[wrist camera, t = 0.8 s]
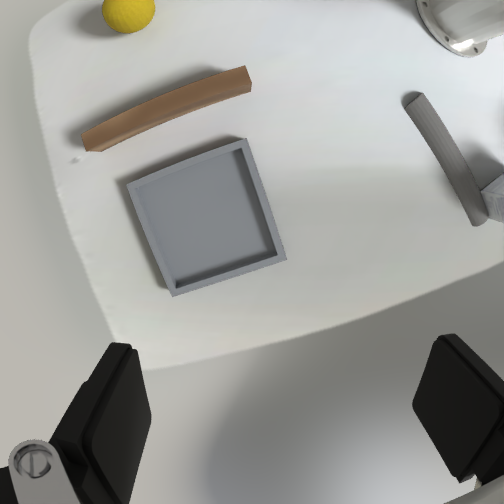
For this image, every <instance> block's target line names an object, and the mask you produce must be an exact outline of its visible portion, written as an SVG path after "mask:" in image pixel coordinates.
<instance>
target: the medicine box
mask: <svg viewBox="0 0 504 504" xmlns="http://www.w3.org/2000/svg"><path fill="white" fill-rule="evenodd" d="M480 193H481V195H482V197H483V200H484V202H485V205H486V208H487V211H488V214H489V217H488V218H490V219H493V220H496V221H499V222H503V223H504V173H503V174H501V175H500V176H499V177H498V178H497V179H495V180H494V181H493V182H492V183H490V184H489V185H488V186H487V187H485V188H484V189H483V190H482V191H480Z"/></svg>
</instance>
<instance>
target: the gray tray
mask: <svg viewBox="0 0 504 504" xmlns="http://www.w3.org/2000/svg"><path fill="white" fill-rule="evenodd" d="M126 186H127V188H128V191H129V194H130V197H131V199H132V202H133V205H134V207H135V210H136V212H137V215H138V218H139V220H140V223H141V225H142V228H143V230H144V233H145V235H146V238H147V240H148V242H149V245H150V247H151V250H152V252H153V254H154V257H155V259H156V262H157V264H158V266H159V268H160V271H161V273H162V275H163V278H164V280H165V282H166V284H167V287H168V289H169V291H170V293H171V295H172V297H174V296H177V295H180V294H184V293H187V292H190V291H193V290H196V289H199V288H202V287H205V286H209V285H212V284H215V283H218V282H221V281H224V280H227V279H230V278H233V277H236V276H239V275H242V274H245V273H248V272H251V271H255V270H258V269H261V268H264V267H267V266H270V265H273V264H276V263H279V262H282V261H285V260H287V258H286V255H285V251H284V248H283V245H282V242H281V239H280V236H279V233H278V230H277V227H276V224H275V221H274V217H273V214H272V211H271V208H270V205H269V202H268V199H267V196H266V193H265V190H264V187H263V184H262V181H261V179H260V176H259V173H258V170H257V167H256V164H255V161H254V158H253V155H252V152H251V149H250V147H249V144H248V141H247V138H245V139H242V140H239V141H236V142H233V143H230V144H227V145H225V146H222V147H219V148H216V149H213V150H210V151H208V152H205V153H202V154H200V155H197V156H194V157H192V158H189V159H186V160H184V161H181V162H179V163H176V164H174V165H171V166H169V167H166V168H164V169H161V170H159V171H156V172H154V173H152V174H149V175H147V176H145V177H142V178H140V179H138V180H135V181H133V182H131V183H128V184H126Z"/></svg>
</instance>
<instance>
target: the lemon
mask: <svg viewBox="0 0 504 504" xmlns="http://www.w3.org/2000/svg"><path fill="white" fill-rule="evenodd" d="M102 13H103V16H104V19H105V21H106V22H107V24H108V25H109V26H110V27H111V28H112V29H114V30H116V31H118V32H122V33H133V32H137V31H139V30H141V29H143V28H144V27H146V26H147V25H148V24H149V23H150V21H151V20H152V18H153V16H154V13H155V3H154V0H104V3H103V5H102Z"/></svg>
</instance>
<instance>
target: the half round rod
mask: <svg viewBox="0 0 504 504" xmlns="http://www.w3.org/2000/svg"><path fill="white" fill-rule="evenodd" d="M405 111H406V112H407V114H408V115H409V116H410V118H411V119H412V121H413V122H414V124H415V125H416V127H417V128H418V130H419V131H420V133H421V134H422V136H423V137H424V139H425V140H426V142H427V143H428V145H429V147H430V148H431V150H432V151H433V153H434V155H435V156H436V158H437V160H438V161H439V163H440V165H441V166H442V168H443V170H444V172H445V173H446V175H447V177H448V179H449V180H450V182H451V184H452V186H453V188H454V190H455V192H456V193H457V195H458V197H459V199H460V201H461V203H462V205H463V207H464V209H465V211H466V213H467V215H468V217H469V219H470V222H471V224H472V226H480V225H482V224H483V223H485V222H486V221H487V219H488V217H489V214H488V211H487V208H486V205H485V202H484V200H483V197H482V195H481V193H480V190H479V188H478V186H477V184H476V182H475V180H474V178H473V176H472V174H471V172H470V170H469V168H468V166H467V164H466V162H465V160H464V158H463V156H462V155H461V153H460V151H459V149H458V147H457V146H456V144H455V142H454V140H453V139H452V137H451V135H450V134H449V132H448V130H447V129H446V127H445V125H444V124H443V122H442V121H441V119H440V117H439V116H438V114H437V113H436V111H435V110H434V108H433V107H432V105H431V104H430V102H429V101H428V99H427V98H426V96H425V95H424V94H423V93H421V94H420V95H419V96H418V97H417V98H415V99H414V100H413V101H412V102H411V103H410V104H408V105H407V107H406V108H405Z"/></svg>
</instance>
